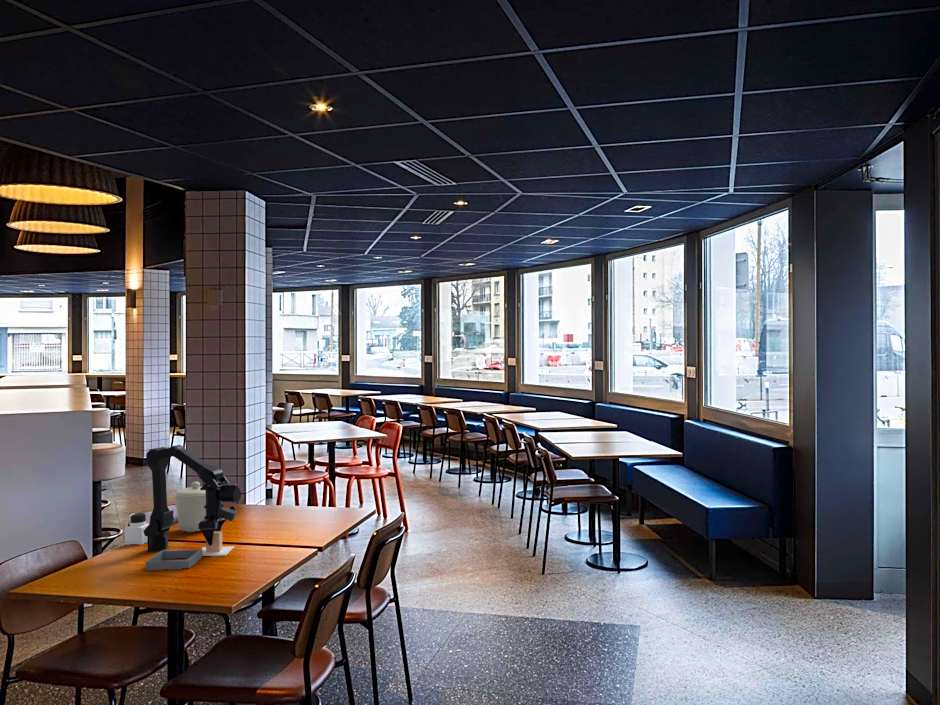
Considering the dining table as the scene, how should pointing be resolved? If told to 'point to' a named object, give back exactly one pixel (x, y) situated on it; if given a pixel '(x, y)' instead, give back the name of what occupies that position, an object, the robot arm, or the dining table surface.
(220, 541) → the block
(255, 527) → the dining table surface
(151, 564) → the grey tray
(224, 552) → the white flat square slab
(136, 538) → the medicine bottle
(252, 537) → the dining table surface
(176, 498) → the canister
